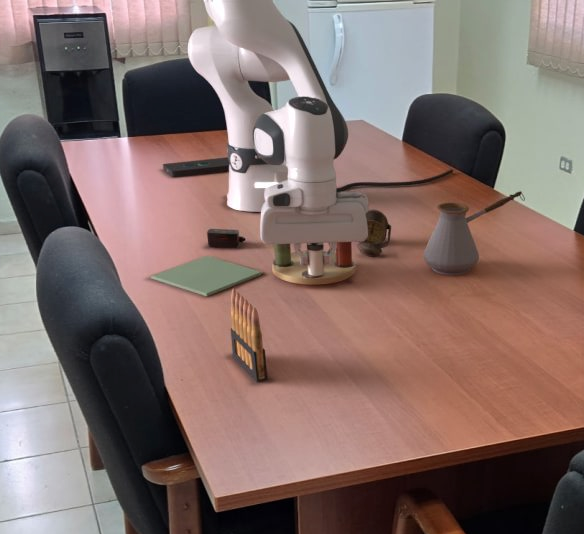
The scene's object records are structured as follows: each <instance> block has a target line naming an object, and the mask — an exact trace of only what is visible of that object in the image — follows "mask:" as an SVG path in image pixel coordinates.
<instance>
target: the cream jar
mask: <svg viewBox="0 0 584 534" xmlns="http://www.w3.org/2000/svg"><path fill="white" fill-rule="evenodd" d="M324 244H325V243H306V251H307V256H308V274H309V275H312V276H320V275H323V274H324V252H323V251H324V247H325V246H324Z"/></svg>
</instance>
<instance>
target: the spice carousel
mask: <svg viewBox="0 0 584 534" xmlns="http://www.w3.org/2000/svg"><path fill="white" fill-rule="evenodd" d="M352 245H353V244H352V242H337V248H336V250H335V252H334V254H333V255H332V256H331V259H332V264H329V265H324V274H323V275H320V276H312V275H309V274H308V265H301V264H300V257H299V255H298V254H297V252H296V251H294V252H292V251H291V244H273V249H274V260H273V261H272V264H271V269H272V270H271V271H272V274H273V275H274V276H275V277H277V278H278V279H279V280H282V281H286V282H287V283H293V284H301V285H326V284H333V283H338V282H341V281H344V280H347V279H348V278H351V277H352V276H353V275H354V274H355V273H356V262H355V260H354V259H353V250H352V249H353V247H352ZM301 251H302V253H303V254H307V250H301ZM323 252H324V253H327V252H328V250H323Z"/></svg>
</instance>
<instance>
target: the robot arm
mask: <svg viewBox="0 0 584 534" xmlns="http://www.w3.org/2000/svg"><path fill="white" fill-rule="evenodd" d="M203 3H204V7H205V10H206V13H207V15H208V16H209V18H210V20H212V22H214V24H215V25H208V26H202V27H197V28H195V29H194V30H193V32H192V33H191V35H190V37H189V39H188V41H187V42H188V43H187V55H188V59H189V63H190V65H191V66H192V67H193V69H194V70H195V71H196V72H197V73H198V74H199V75H200V76H201V77H203V78H204V79H205V80H206V81H207V82H208V84H210V85H211V87H212V88H213V90H214V91H215V93H216V94H217V97H218V98H219V100H220V103H221V105H222V108H223V112H224V117H225V123H226V130H227V137H228V138H227V139H228V142H227V143H226V152H227V157H228V160H229V163H230V165H229V171H228V192H227V193H226V199H227V201H226V205H227V207H229V208H231V209H233V210H237V211H241V212H251V213H260V219H259V221H260V222H259V234H260V240H261V242H262V243H263V244H264V245H274V244H290V245H291V244H292V245H293V246H292V247H293V249H294V252H297V254H298V255H299V257H300V264H301V265H308V256H307V254H303V253H302V251H303V250H301V249H302V244H307V243H323V244H325V243H326V244H327V243H328V246H329V249H328V250H327V251H328V252H327V253H324V265H329V264H332V259H331V256H332V255H333V254H334V252H336V248H337V242H351V243H356V242H357V243H359V242H362V241H365V240H366V238H367V237H368V227H367V220H366V215H365V214H366V213H367V212H368V210H370V206H369V205H370V204H369V201H370V200H369V198H368V197H367V195H366V194H364V193H361V191H359V190H354V191H345V190H348V189H350V188H354V187H355V188H356V187H405V186H406V187H407V186H414V185H415V186H416V185H421V184H426V183H431V182H433V181H437V180H440V179H442V178H444V177H446V176H449V175H451V174H452V173H454V170H453V169H448V170H446V171H445V172H443V173H440V174H438V175H435V176H431V177H428V178H424V179H418V180H411V181H409V180H408V181H391V182H388V181H387V182H384V181H383V182H378V181H376V182H375V181H358V182H351V183H348V184H346V185H343V186H341V187H337V173H336V170H335V165H334V161H335V160H336V159H338V158H339V157H340V156H341V154H342V153H343V151H344V149H345V148H346V145H347V143H348V139H349V128H348V124H347V122H346V120H345V118H344V116H343V114H342V113H341V111H340V110H339V108H338V106H337V104H336V103H335V102H334V100H333V98H332V97H331V95H330V93H329V91H328V89H327V86H326V84H325V83H324V81H323V79H322V76H321V73H320V72H319V71H318V68H317V66H316V64H315V61H314V59H313V57H312V55H311V53H310V51H309V48H308V46H307V45H306V43H305V41H304V38H303V37H302V35H301V33H300V31H299V30H298V28H297V27H296V26H295V25H294V23H292V22H291V21H289V20H288V19H287V18H286V17H285V16H284V15H283V14H282V13H281V11H280V10H279V8H278V7H277V6H276V5H275V3H274V1H273V0H203ZM250 81H251V82H263V83H279V82H287V81H291V84H292V86H293V88H294V90H295V92H296V94H297V96H295V97H292V98H290V99H288V101H287V102H286V103H285V105H284V106H282V107H280V108H278V109H274V108H273V106H272V105H271V104H270V103H269V101H267V100H266V99H265V98H262V97H261V96H259V95H258V94H256V93H255V92H254V91H253V89H252V88H251V87H250V83H249V82H250Z"/></svg>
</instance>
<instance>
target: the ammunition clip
mask: <svg viewBox="0 0 584 534" xmlns="http://www.w3.org/2000/svg"><path fill="white" fill-rule="evenodd" d="M230 306H231V307H230V310H231V311H230V319H231V328H230V339H231V340H230V341H231V349H232V350H231V351H232V358H233V359H234V360H236V362H237V363H238V364H239V365H240V366H241V367H242V368H243V370H244V371H245V372H246V373H247V374H248V375H249V376H250V377H251V378H252V379H253V380H254V381H255V383H259V382H263V381H267V380H268V379H269V377H268V368H267V358H266V357H267V356H266V349H265V348H264V344H263V343H264V342H263V333H262V330H261V323H260V317H259V313H258V310H257V308H256V307H253V304H251V303H249V302H248V300H247V299H245V297H244V296H243V295H240V292H239V291H237V290H236V289H235V288H232V290H231V294H230Z"/></svg>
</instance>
